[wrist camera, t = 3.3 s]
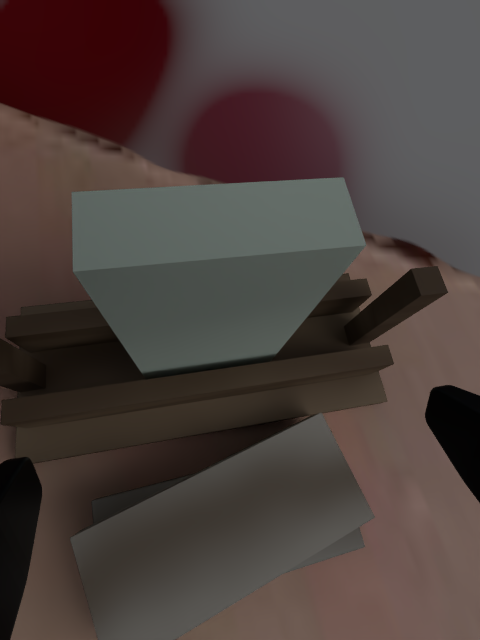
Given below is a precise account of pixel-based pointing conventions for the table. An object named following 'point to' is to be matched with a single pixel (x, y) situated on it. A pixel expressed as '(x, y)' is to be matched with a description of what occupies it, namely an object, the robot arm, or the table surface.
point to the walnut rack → (192, 374)
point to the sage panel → (211, 266)
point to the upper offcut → (218, 534)
